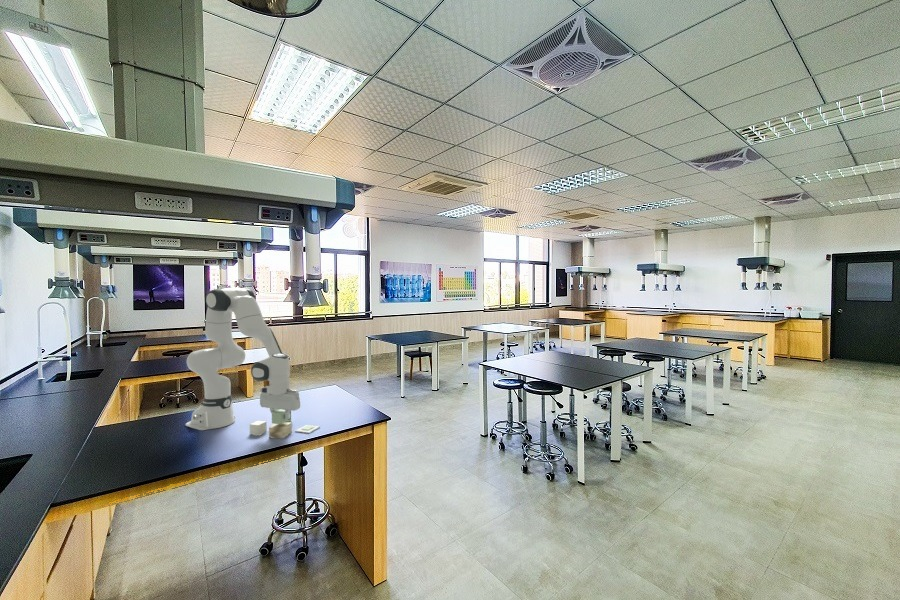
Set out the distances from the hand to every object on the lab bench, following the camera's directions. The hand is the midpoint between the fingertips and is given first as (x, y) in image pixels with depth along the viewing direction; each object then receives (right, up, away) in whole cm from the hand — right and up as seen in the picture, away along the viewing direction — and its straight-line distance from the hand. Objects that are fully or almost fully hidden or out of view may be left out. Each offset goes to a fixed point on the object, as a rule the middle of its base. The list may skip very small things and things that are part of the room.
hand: (280, 417), depth 169 cm
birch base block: (0, -8, 0) cm, 8 cm away
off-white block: (-12, -8, +3) cm, 15 cm away
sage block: (0, -2, 0) cm, 2 cm away
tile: (+10, -8, +7) cm, 15 cm away
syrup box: (-7, -8, +17) cm, 20 cm away
